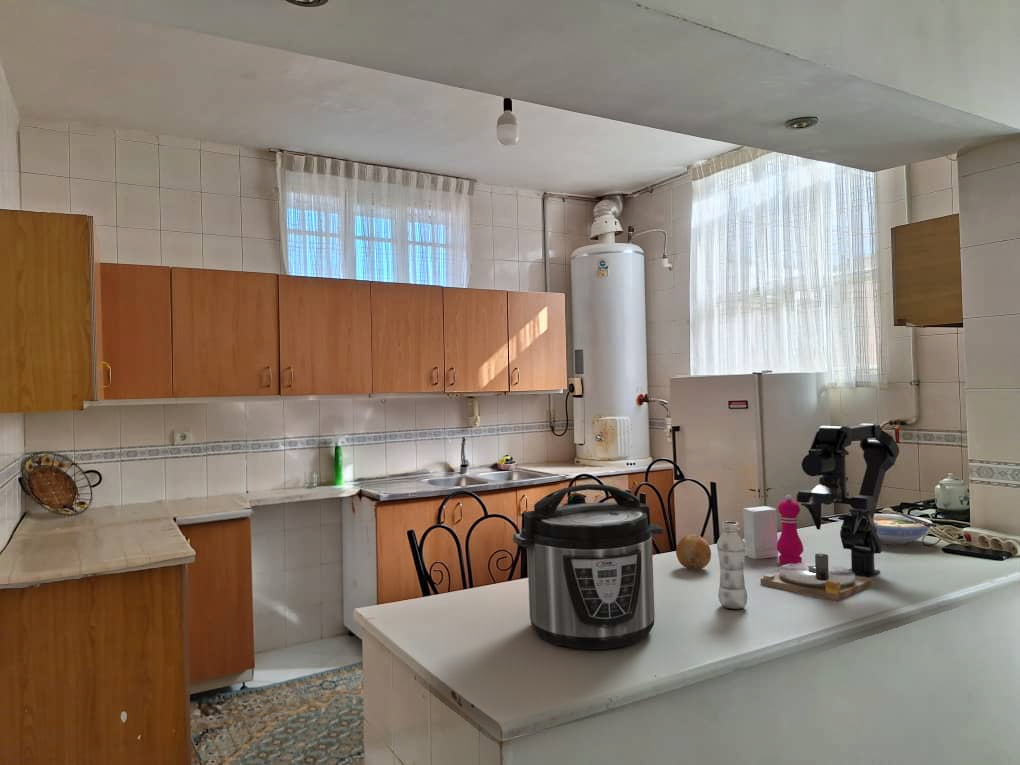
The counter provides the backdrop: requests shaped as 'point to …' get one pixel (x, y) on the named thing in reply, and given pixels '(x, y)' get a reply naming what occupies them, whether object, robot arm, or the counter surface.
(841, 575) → the dial
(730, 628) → the counter surface
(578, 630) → the pressure cooker
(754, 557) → the skincare box
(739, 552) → the plastic bottle
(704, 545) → the onion
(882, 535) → the ramen bowl
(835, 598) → the dial base
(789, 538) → the pepper mill
